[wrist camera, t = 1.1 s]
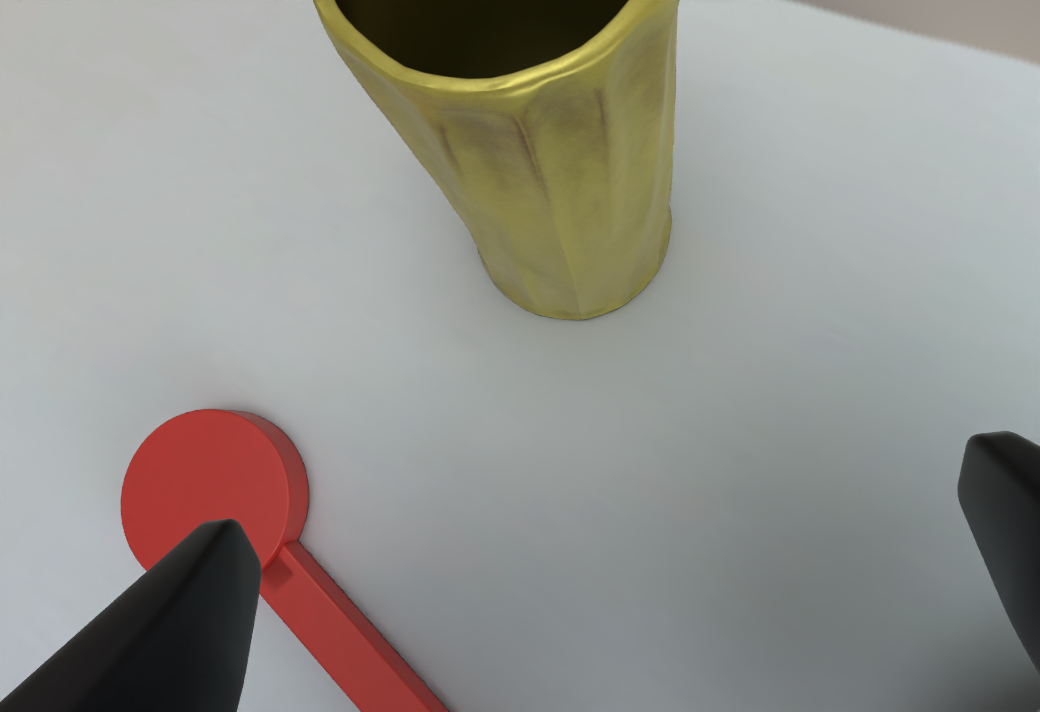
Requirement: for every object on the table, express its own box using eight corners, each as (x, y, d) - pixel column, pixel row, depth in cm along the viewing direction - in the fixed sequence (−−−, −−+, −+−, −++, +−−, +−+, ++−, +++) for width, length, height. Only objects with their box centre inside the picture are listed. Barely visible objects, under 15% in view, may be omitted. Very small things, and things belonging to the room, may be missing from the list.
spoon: (497, 951, 21) (488, 986, 20) (116, 496, 25) (85, 500, 23) (633, 813, 21) (633, 839, 20) (232, 375, 24) (208, 371, 23)
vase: (503, 343, 23) (313, 193, 9) (457, 165, 24) (221, -220, 10) (694, 290, 23) (803, 39, 9) (639, 108, 23) (656, -388, 9)
